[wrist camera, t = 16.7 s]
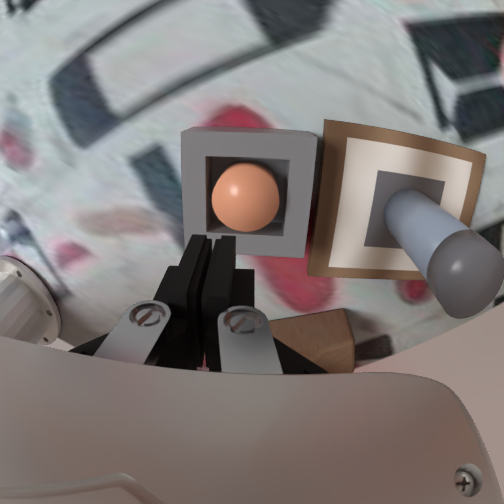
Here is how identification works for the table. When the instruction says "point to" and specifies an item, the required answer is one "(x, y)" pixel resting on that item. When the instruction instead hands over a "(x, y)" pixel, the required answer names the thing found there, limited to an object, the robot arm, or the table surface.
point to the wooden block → (319, 339)
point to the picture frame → (381, 196)
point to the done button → (246, 196)
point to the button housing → (266, 152)
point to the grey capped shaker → (445, 253)
